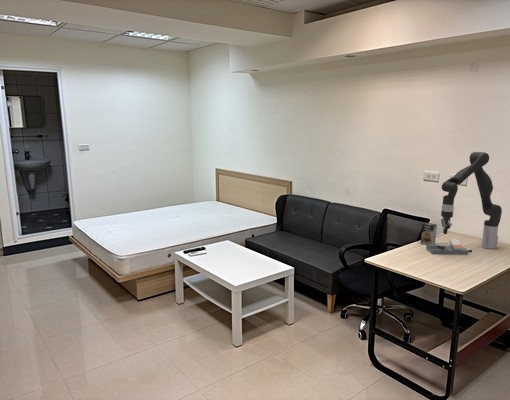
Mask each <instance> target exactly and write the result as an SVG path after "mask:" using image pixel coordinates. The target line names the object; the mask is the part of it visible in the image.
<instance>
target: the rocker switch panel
mask: <svg viewBox="0 0 510 400" xmlns="http://www.w3.org/2000/svg"><path fill="white" fill-rule="evenodd" d="M425 248H426V249H425V250H427V251H428V252H429V253H430V252H431V254H432V255H463V256H465V255H466V256H467V255H469V253H472V252H473V250H472V249H468V248H466V247H465V246H463V249H454V248H453V247H452V246H451V244H449V246H437V245H426V247H425Z"/></svg>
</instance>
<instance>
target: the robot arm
mask: <svg viewBox="0 0 510 400" xmlns="http://www.w3.org/2000/svg"><path fill="white" fill-rule="evenodd" d="M489 161H490V154H489V153H487V152H485V151H484V152H482V151H473V152H471V154H470V155H469V163H470V164H469V165H467V166H466V167H463V168H462V169H460V170H459V171H458V172H456V173H455V175H453V176H452V177H450V178H448V179H446V180H444V182H443V183H442V185H441V191H443V192H445V193H447V194H446V195H443V196H442V197H443V198H442V205H441V209H440V210H441V212H440V216H441V218H442V219H440V223H441V227H442V228H443V231H442V233H443V234H444V235H448V229H449V230H450V228H451V227H452V222H451V218H453V217H454V209H455V208H454V205H455V204H454V203H455V198H456V195H457V193H458V190H459V185H461V184H463V183H464V182H465V181H466V180H467V179H468V178H469V177H470V176H471V175H472V174H474V176H475V180H476V184H477V185H476V186H477V188H478V191H479V195H480V196H479V197H480V201H481V207H482V211H483V214H484V215H486V216H488V217H489V219H486V220H484V221H483V231H482V239H481V247H482V248H484V249H488V250H495V249H497V248H498V242H499V235H498V233H499V232H498V231H499V224H500V222H501V218H502V212H503V209H502V206H501V205H498V204H495V203H493V202H492V199H491V195H492V193H493V191H494V185H493V181H492V178H491V176H490V175H488V173H487V172H486V171H485V170H484V168H483V167H484V166H486V165H487V163H489Z"/></svg>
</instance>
